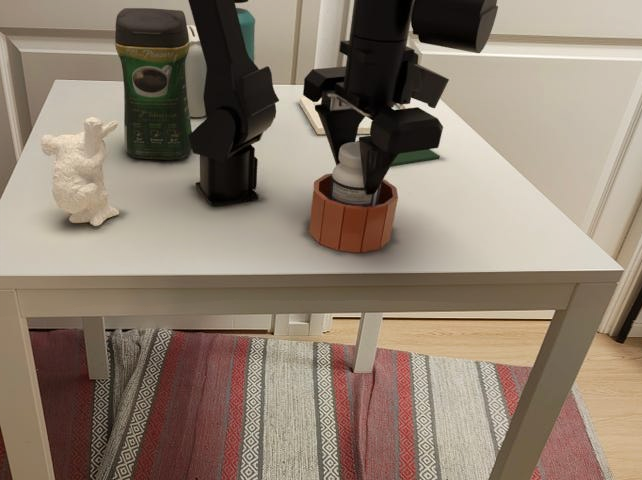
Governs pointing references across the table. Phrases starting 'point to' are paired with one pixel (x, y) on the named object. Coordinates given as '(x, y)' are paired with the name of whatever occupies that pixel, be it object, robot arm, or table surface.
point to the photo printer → (195, 74)
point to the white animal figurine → (81, 172)
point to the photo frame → (316, 122)
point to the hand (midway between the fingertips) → (356, 182)
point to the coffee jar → (154, 82)
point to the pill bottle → (350, 179)
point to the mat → (414, 157)
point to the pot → (351, 219)
